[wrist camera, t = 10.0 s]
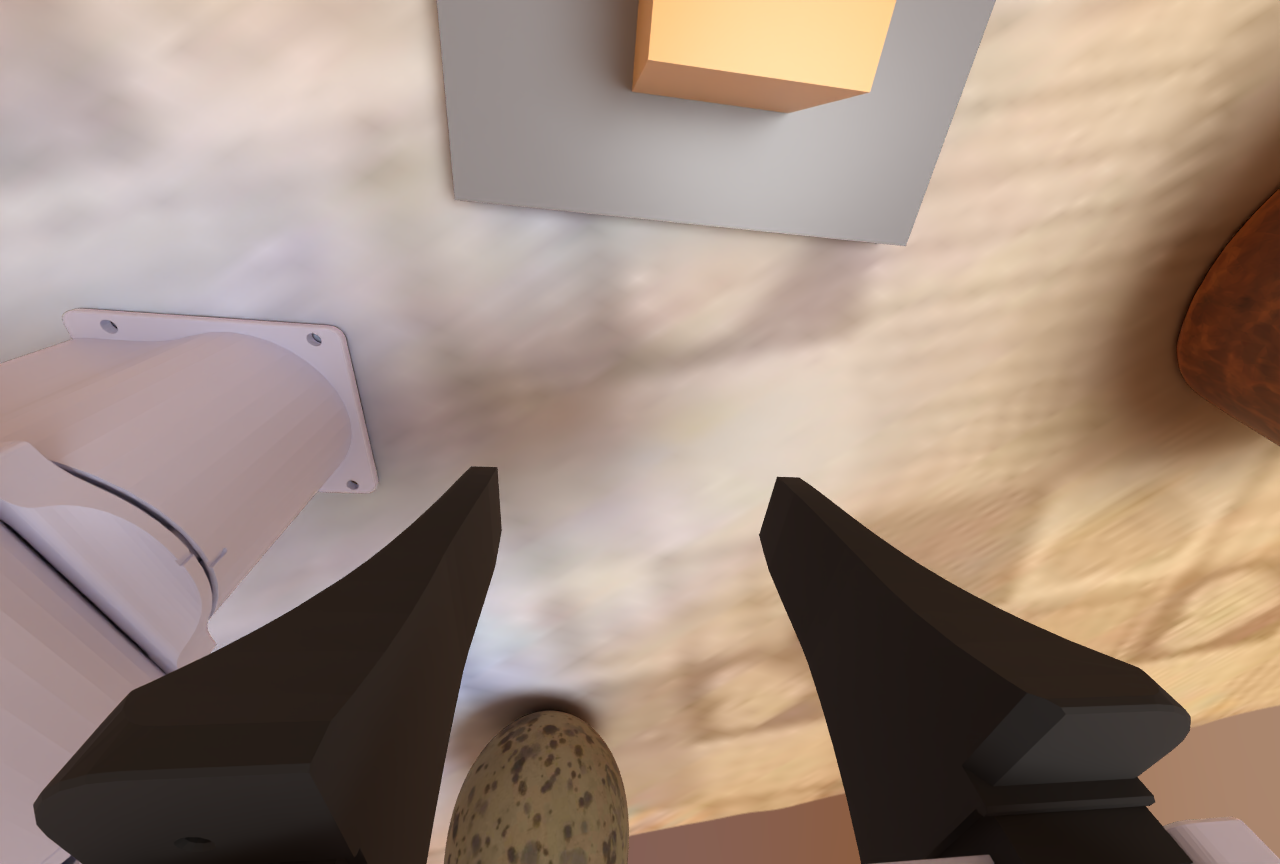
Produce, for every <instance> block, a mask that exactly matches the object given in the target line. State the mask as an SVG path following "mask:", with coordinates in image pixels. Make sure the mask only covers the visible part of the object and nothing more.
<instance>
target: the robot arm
mask: <svg viewBox="0 0 1280 864" xmlns="http://www.w3.org/2000/svg"><path fill="white" fill-rule="evenodd" d="M62 320H63V323H64V325H65V327H66V329H67V331H68V332H69V334H70V336H71V338H72V340H69V341H66V342H63V343H60V344H57V345H54V346H51V347H48V348H45V349H42V350H39V351H36V352H33V353H30V354H27V355H24V356H21V357H18V358H15V359H12V360H9V361H6V362H3V363H0V864H426V863H427V857H428V851H429V845H430V840H431V834H432V828H433V822H434V817H435V811H436V806H437V800H438V795H439V789H440V784H441V779H442V773H443V768H444V762H445V757H446V752H447V747H448V742H449V737H450V732H451V727H452V722H453V717H454V712H455V708H456V703H457V698H458V693H459V689H460V684H461V679H462V674H463V670H464V666H465V663H466V659H467V655H468V652H469V648H470V645H471V642H472V639H473V636H474V633H475V629H476V626H477V623H478V620H479V617H480V614H481V610H482V607H483V604H484V601H485V598H486V595H487V591H488V588H489V585H490V582H491V578H492V575H493V572H494V569H495V564H496V559H497V554H498V548H499V542H500V537H501V531H502V529H501V514H500V499H499V484H498V469H497V467H471V468H469V469H468V470H467V471H466V472H465V473H464V474H463V475H462V476H461V477H460V478H459V479H458V480H457V481H456V482H455V483H454V484H453V485H452V486H451V487H450V488H449V489H448V490H447V491H446V492H445V493H444V494H443V495H442V496H441V497H440V498H439V499H438V500H437V501H436V502H435V503H434V504H433V505H432V506H431V507H430V508H429V509H428V510H427V511H426V512H425V513H423V514H422V515H421V516H420V517H419V518H418V519H417V520H416V521H415V522H414V523H413V524H411V525H410V526H409V527H408V528H407V529H406V530H404V531H403V532H402V533H401V534H400V535H399V536H397V537H396V538H395V539H394V540H393V541H391V542H390V543H389V544H388V545H387V546H386V547H384V548H383V549H382V550H380V551H379V552H378V553H377V554H375V555H374V556H373V557H371V558H370V559H369V560H368V561H366V562H365V563H363V564H362V565H361V566H359V567H358V568H356V569H355V570H354V571H352V572H351V573H349V574H348V575H346V576H345V577H344V578H342V579H341V580H339V581H338V582H336V583H334V584H333V585H331V586H330V587H328V588H326V589H325V590H323V591H322V592H320V593H318V594H317V595H315V596H314V597H312V598H310V599H309V600H307V601H306V602H304V603H302V604H301V605H299V606H298V607H296V608H294V609H293V610H291V611H289V612H288V613H286V614H284V615H282V616H280V617H279V618H277V619H275V620H273V621H272V622H270V623H268V624H266V625H264V626H263V627H261V628H259V629H257V630H255V631H253V632H251V633H250V634H248V635H246V636H244V637H242V638H240V639H238V640H236V641H235V642H233V643H231V644H229V645H227V646H225V647H223V648H221V649H219V650H217V651H215V652H213V653H211V651H212V650H213V649H214V648H215V646H216V643H215V641H214V640H213V639H212V637H211V636H210V634H209V632H208V628H207V623H208V620H209V619H210V618H211V617H212V615H213V614H214V613H215V612H216V611H217V610H218V608H219V607H220V606H221V605H222V604H223V602H224V601H225V600H226V599H227V598H228V597H229V595H230V594H231V593H232V592H233V591H234V589H235V588H236V587H237V586H238V585H239V584H240V582H241V581H242V580H243V579H244V578H245V576H246V575H247V574H248V573H249V572H250V571H251V569H252V568H253V567H254V566H255V565H256V563H257V562H258V561H259V560H260V559H261V558H262V556H263V555H264V554H265V553H266V552H267V550H268V549H269V548H270V547H271V546H272V545H273V543H274V542H275V541H276V540H277V539H278V537H279V536H280V535H281V534H282V533H283V532H284V530H285V529H286V528H287V527H288V526H289V524H290V523H291V522H292V521H293V520H294V519H295V517H296V516H297V515H298V514H299V513H300V511H301V510H302V509H303V508H304V507H305V506H306V504H307V503H308V502H309V501H310V500H311V498H312V497H313V496H314V495H315V494H316V493H317V492H335V493H371V492H373V491H374V490H375V489H376V487H377V486H378V482H379V481H378V477H377V472H376V468H375V464H374V459H373V455H372V451H371V446H370V442H369V437H368V433H367V429H366V424H365V420H364V416H363V411H362V407H361V402H360V398H359V394H358V389H357V385H356V381H355V376H354V372H353V367H352V363H351V359H350V354H349V350H348V346H347V341H346V338H345V335H344V334H343V333H342V331H341V330H340V329H338V328H336V327H334V326H330V325H316V324H301V323H286V322H272V321H257V320H242V319H228V318H213V317H198V316H184V315H169V314H154V313H140V312H125V311H110V310H95V309H81V308H80V309H73V310H70V311H67V312H65V313H64V314H63V317H62ZM110 321H111V322H113V323H114V324H115V325H116V326H117V328H118V329H116V328H115V327H113V325H112V324H111V322H110ZM312 333H314V334H317V335H318V336H319V337H320V338H321V340H322V342H321V343H319V342H317V341H315V340H314V339H313V337H312ZM351 480H352V481H355V482H357V483H358V485H357V484H354V483H352V482H351ZM759 536H760V540H761V544H762V548H763V552H764V555H765V559H766V562H767V566H768V569H769V572H770V574H771V577H772V579H773V581H774V584H775V586H776V588H777V591H778V593H779V596H780V598H781V600H782V603H783V605H784V607H785V609H786V612H787V614H788V616H789V619H790V621H791V623H792V626H793V628H794V630H795V633H796V635H797V637H798V639H799V642H800V644H801V646H802V649H803V652H804V654H805V657H806V659H807V662H808V665H809V668H810V671H811V674H812V677H813V680H814V683H815V686H816V690H817V693H818V696H819V699H820V702H821V706H822V709H823V712H824V716H825V719H826V723H827V726H828V730H829V733H830V737H831V740H832V744H833V747H834V751H835V755H836V759H837V763H838V767H839V770H840V774H841V778H842V782H843V786H844V790H845V794H846V797H847V801H848V806H849V811H850V815H851V819H852V824H853V828H854V832H855V837H856V842H857V846H858V850H859V855H860V860H861V864H1280V859H1279V858H1278V857H1277V856H1276V855H1275V854H1274V853H1273V852H1272V851H1271V850H1270V849H1269V848H1268V847H1267V846H1266V845H1265V844H1264V843H1263V842H1262V841H1261V840H1260V839H1259V838H1258V837H1257V836H1256V834H1255V833H1253V831H1251V830H1250V828H1249V827H1248V826H1247V825H1246V824H1244V822H1243V821H1242V820H1240V819H1237V818H1234V817H1221V818H1206V819H1193V820H1184V821H1177V822H1174V823H1171V824H1168V825H1165V826H1162V825H1161V824H1160V823H1159V821H1158V820H1157V819H1156V818H1155V817H1154V816H1153V814H1152V813H1151V812H1150V811H1149V810H1148V808H1147V807H1146V806H1150V805H1152V804H1153V803H1155V800H1154V796H1153V795H1152V793H1151V792H1150V791H1149V790H1148V789H1147V788H1146V787H1145V785H1144V784H1143V783H1142V782H1141V781H1140V780H1139V779H1138V776H1139V775H1140V774H1142V773H1143V772H1144V771H1146V770H1147V769H1148V768H1150V767H1151V766H1152V765H1153V764H1155V763H1156V762H1157V761H1159V760H1160V759H1161V758H1163V757H1164V756H1165V755H1166V754H1168V753H1169V752H1171V751H1172V750H1173V749H1174V748H1175V747H1176V746H1178V745H1179V744H1180V743H1181V742H1182V741H1183V740H1184V738H1185V737H1186V736H1187V734H1188V733H1189V731H1190V723H1191V718H1190V715H1189V714H1188V713H1187V711H1186V710H1185V709H1184V708H1183V707H1182V706H1181V705H1180V704H1179V703H1178V702H1177V701H1175V700H1174V699H1173V698H1172V697H1171V696H1170V695H1169V694H1168V693H1167V692H1166V691H1165V690H1164V689H1163V688H1161V687H1160V686H1159V685H1158V684H1157V683H1156V682H1155V681H1154V680H1153V679H1152V678H1151V677H1150V676H1149V675H1147V674H1146V673H1145V672H1144V671H1143V670H1141V669H1140V668H1138V667H1135V666H1133V665H1130V664H1128V663H1125V662H1123V661H1120V660H1118V659H1115V658H1113V657H1110V656H1107V655H1105V654H1102V653H1100V652H1097V651H1095V650H1092V649H1090V648H1087V647H1085V646H1082V645H1079V644H1077V643H1074V642H1072V641H1069V640H1067V639H1065V638H1062V637H1060V636H1058V635H1056V634H1053V633H1051V632H1049V631H1047V630H1044V629H1042V628H1040V627H1038V626H1035V625H1033V624H1031V623H1029V622H1026V621H1024V620H1022V619H1020V618H1018V617H1016V616H1014V615H1012V614H1010V613H1008V612H1005V611H1003V610H1001V609H999V608H997V607H995V606H993V605H992V604H990V603H988V602H986V601H984V600H982V599H980V598H978V597H976V596H974V595H972V594H970V593H968V592H967V591H965V590H963V589H961V588H959V587H957V586H956V585H954V584H952V583H950V582H949V581H947V580H945V579H943V578H942V577H940V576H938V575H937V574H935V573H933V572H932V571H930V570H928V569H927V568H925V567H923V566H922V565H920V564H919V563H917V562H915V561H914V560H912V559H911V558H909V557H908V556H906V555H905V554H903V553H902V552H900V551H899V550H897V549H896V548H894V547H893V546H891V545H890V544H888V543H887V542H886V541H884V540H883V539H881V538H880V537H878V536H877V535H876V534H874V533H873V532H872V531H870V530H869V529H867V528H866V527H865V526H863V525H862V524H861V523H859V522H858V521H857V520H855V519H854V518H853V517H851V516H850V515H849V514H847V513H846V512H845V511H844V510H842V509H841V508H840V507H838V506H837V505H836V504H834V503H833V502H832V501H831V500H829V499H828V498H827V497H825V496H824V495H823V494H821V493H820V492H819V491H817V490H816V489H815V488H813V487H812V486H811V485H809V484H808V483H806V482H805V481H803V480H802V479H800V478H795V477H777V479H776V482H775V485H774V489H773V492H772V495H771V498H770V502H769V505H768V508H767V511H766V515H765V518H764V521H763V524H762V528H761V531H760V534H759ZM210 653H211V654H210Z"/></svg>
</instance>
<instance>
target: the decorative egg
mask: <svg viewBox="0 0 1280 864" xmlns="http://www.w3.org/2000/svg"><path fill="white" fill-rule="evenodd" d="M628 846H629V822H628V809H627V801H626V795H625V790H624V785H623V782H622V778H621V775H620V771H619V769H618V766H617V764H616V761H615V759H614V757H613V755H612V753H611V751H610V750H609V748H608V746H607V745H606V743H605V742H604V741H603V739H602V738H601V737H600V735H599V734H598V733H597V732H596V731H595V730H594V729H593V728H592V727H591V726H590V725H588V724H587V723H586V722H584V721H583V720H581V719H580V718H578V717H576V716H574V715H571V714H568V713H565V712H560V711H540V712H535V713H532V714H529V715H526V716H524V717H522V718H520V719H518V720H516V721H515V722H513V723H511V724H510V725H508V726H507V727H506V728H504V729H503V730H502V731H501V732H500V733H499V734H497V735H496V736H495V737H494V738H493V739H492V740H491V742H490V743H489V744H488V745H487V746H486V747H485V748H484V750H483V751H482V752H481V754H480V755H479V757H478V758H477V760H476V761H475V763H474V764H473V766H472V768H471V769H470V771H469V773H468V775H467V777H466V779H465V781H464V783H463V785H462V788H461V790H460V793H459V795H458V798H457V801H456V804H455V807H454V810H453V814H452V818H451V822H450V826H449V830H448V836H447V842H446V849H445V857H444V864H627V861H628Z"/></svg>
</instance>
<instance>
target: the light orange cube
mask: <svg viewBox="0 0 1280 864" xmlns="http://www.w3.org/2000/svg"><path fill="white" fill-rule="evenodd" d="M895 3H896V0H639V3H638V16H637V29H636V43H635V56H634V70H633V83H632V92H638V93H645V94H652V95H659V96H667V97H674V98H681V99H689V100H696V101H703V102H710V103H718V104H725V105H732V106H740V107H747V108H754V109H761V110H769V111H776V112H783V113H792V112H795V111H799V110H803V109H807V108H811V107H815V106H819V105H823V104H827V103H830V102H834V101H838V100H842V99H846V98H850V97H854V96H858V95H862V94H866V93H869V92H870V91H871V87H872V84H873V80H874V77H875V73H876V70H877V66H878V63H879V59H880V56H881V52H882V49H883V45H884V42H885V38H886V35H887V31H888V28H889V24H890V21H891V17H892V14H893V10H894V7H895Z"/></svg>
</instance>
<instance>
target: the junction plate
mask: <svg viewBox="0 0 1280 864" xmlns="http://www.w3.org/2000/svg"><path fill="white" fill-rule="evenodd" d="M995 1H996V0H896V3H895V7H894V10H893V14H892V17H891V21H890V24H889V28H888V31H887V35H886V38H885V42H884V45H883V49H882V52H881V56H880V59H879V63H878V66H877V70H876V73H875V77H874V80H873V84H872V87H871V91H870V92H869V93H866V94H862V95H858V96H854V97H850V98H846V99H842V100H838V101H834V102H830V103H827V104H823V105H819V106H815V107H811V108H807V109H803V110H799V111H795V112H792V113H783V112H776V111H769V110H761V109H754V108H747V107H740V106H732V105H725V104H718V103H710V102H703V101H696V100H689V99H681V98H674V97H667V96H659V95H652V94H645V93H638V92H632V83H633V70H634V56H635V43H636V29H637V16H638V3H639V0H437V9H438V20H439V31H440V42H441V53H442V64H443V75H444V86H445V97H446V108H447V119H448V130H449V141H450V152H451V163H452V174H453V185H454V196H455V200H462V201H472V202H482V203H491V204H501V205H511V206H520V207H530V208H540V209H550V210H559V211H569V212H579V213H589V214H598V215H608V216H618V217H627V218H637V219H647V220H657V221H666V222H676V223H686V224H696V225H705V226H715V227H725V228H734V229H744V230H754V231H764V232H773V233H783V234H793V235H803V236H812V237H822V238H832V239H841V240H851V241H861V242H871V243H880V244H890V245H900V246H906V244H907V241H908V239H909V236H910V233H911V230H912V228H913V225H914V222H915V219H916V217H917V214H918V211H919V209H920V206H921V203H922V200H923V198H924V195H925V192H926V189H927V187H928V184H929V181H930V179H931V176H932V173H933V170H934V168H935V165H936V162H937V159H938V157H939V154H940V151H941V149H942V146H943V143H944V140H945V138H946V135H947V132H948V129H949V127H950V124H951V121H952V119H953V116H954V113H955V110H956V108H957V105H958V102H959V99H960V97H961V94H962V91H963V89H964V86H965V83H966V80H967V78H968V75H969V72H970V69H971V67H972V64H973V61H974V59H975V56H976V53H977V50H978V48H979V45H980V42H981V39H982V37H983V34H984V31H985V29H986V26H987V23H988V20H989V18H990V15H991V12H992V9H993V7H994V4H995Z"/></svg>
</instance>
